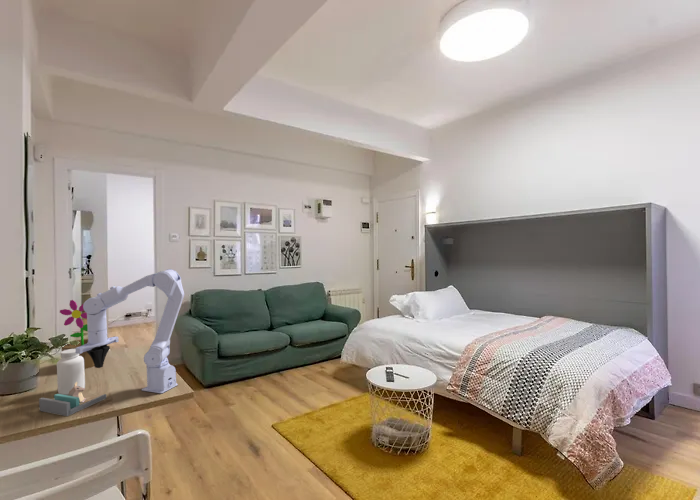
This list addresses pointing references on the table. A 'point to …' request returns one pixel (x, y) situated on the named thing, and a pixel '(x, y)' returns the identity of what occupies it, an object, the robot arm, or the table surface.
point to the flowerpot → (76, 314)
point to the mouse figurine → (77, 392)
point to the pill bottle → (70, 371)
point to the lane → (64, 405)
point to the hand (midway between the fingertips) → (99, 367)
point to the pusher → (68, 399)
